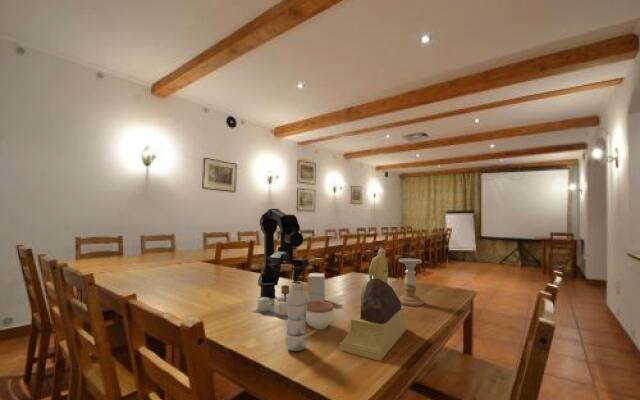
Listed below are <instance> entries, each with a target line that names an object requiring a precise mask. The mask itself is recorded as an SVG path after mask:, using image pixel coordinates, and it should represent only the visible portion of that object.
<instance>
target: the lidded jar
mask: <svg viewBox="0 0 640 400" xmlns="http://www.w3.org/2000/svg"><path fill="white" fill-rule="evenodd" d="M333 313H334V304H332V303H331V302H328V301H325V300H324V301H320V300H317V301H312V302H308V305H307V312H306V323H307V325H308V326H309V327H311V328H312V329H313V328H314V329H315V330H318V331H319V330H321V331H322V330H325V329H326V328H327V327H328V326H329V325H330V323H331V322H332V320H333V315H334V314H333Z"/></svg>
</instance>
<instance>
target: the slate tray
mask: <svg viewBox="0 0 640 400" xmlns="http://www.w3.org/2000/svg"><path fill="white" fill-rule="evenodd" d="M251 313H256V314H259V315H264V316H268V317H273V318H277V319H281V320H285V321H288V315H285V316H283V315H277V314H275V312H274V302H273V303H271V304H270V311H269V312H266V313H259V312H257V309H254V310H252V311H251Z"/></svg>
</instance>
